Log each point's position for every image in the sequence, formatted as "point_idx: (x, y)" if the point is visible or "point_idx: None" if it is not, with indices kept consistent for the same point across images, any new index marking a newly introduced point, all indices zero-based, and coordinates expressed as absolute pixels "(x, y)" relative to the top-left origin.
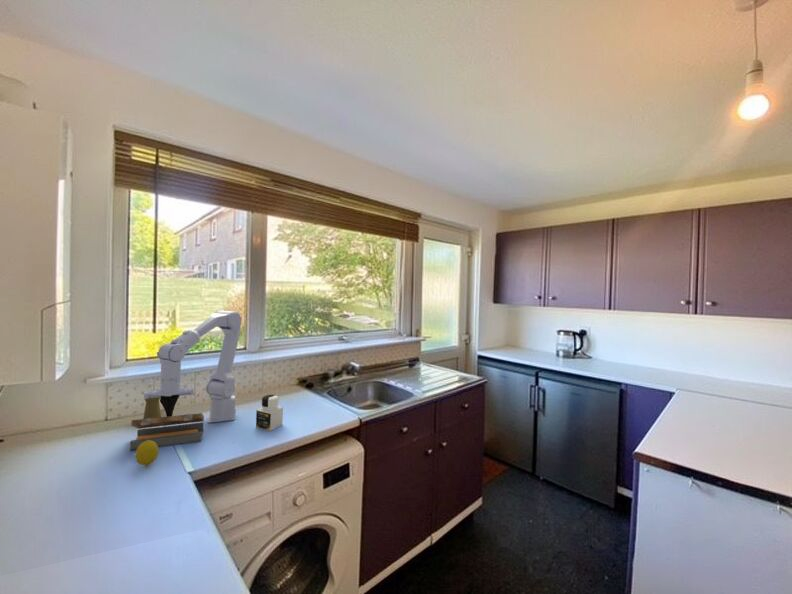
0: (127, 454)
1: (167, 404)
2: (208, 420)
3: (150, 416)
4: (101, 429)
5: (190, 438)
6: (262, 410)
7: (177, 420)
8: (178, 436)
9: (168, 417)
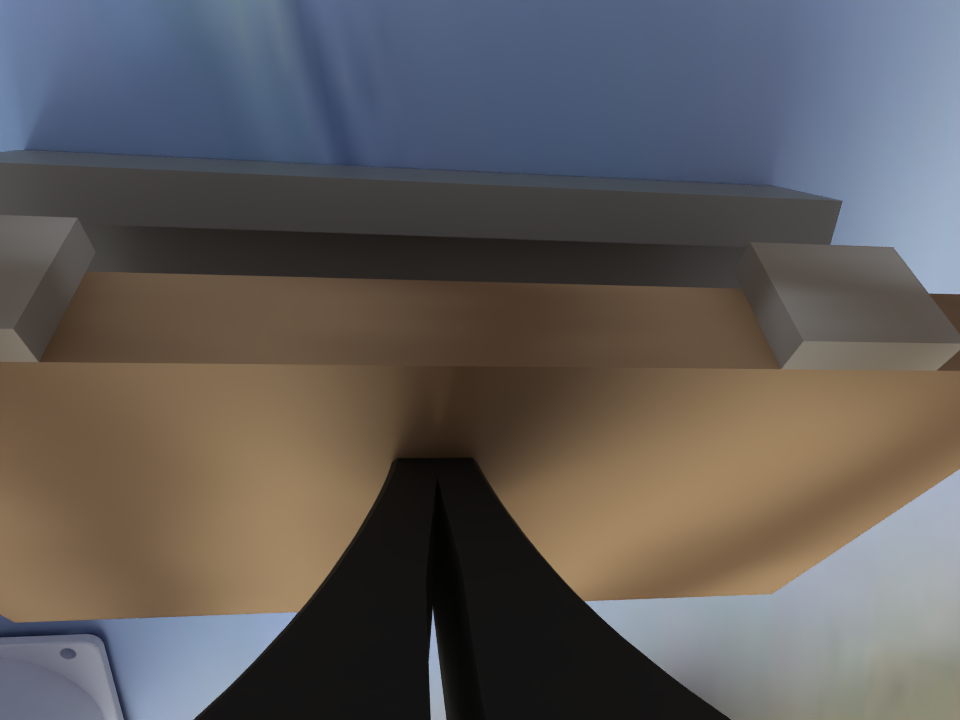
0: (795, 109)
1: (505, 692)
2: (99, 670)
3: None
4: (929, 691)
5: (127, 162)
6: None
7: (239, 285)
8: (274, 173)
9: (426, 346)
